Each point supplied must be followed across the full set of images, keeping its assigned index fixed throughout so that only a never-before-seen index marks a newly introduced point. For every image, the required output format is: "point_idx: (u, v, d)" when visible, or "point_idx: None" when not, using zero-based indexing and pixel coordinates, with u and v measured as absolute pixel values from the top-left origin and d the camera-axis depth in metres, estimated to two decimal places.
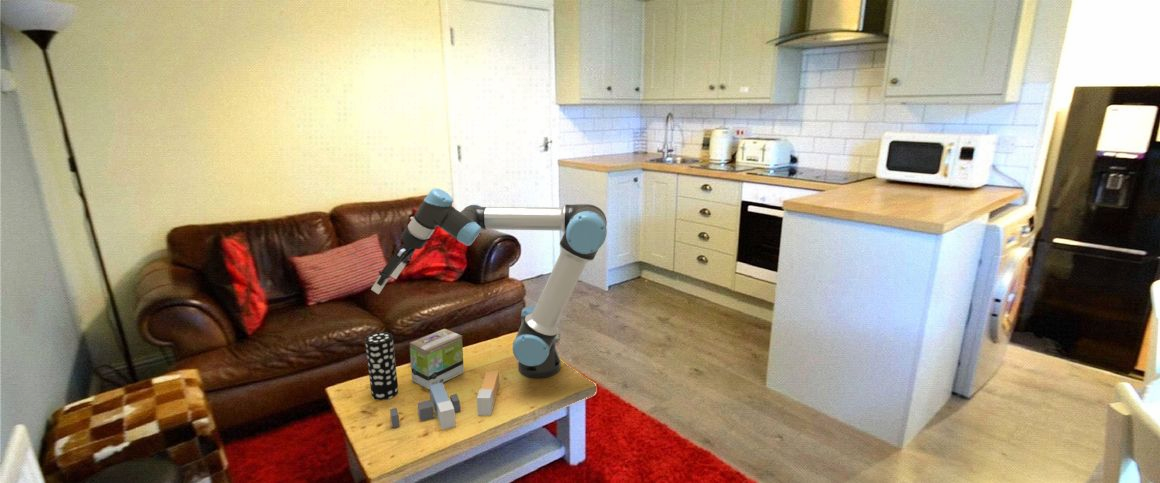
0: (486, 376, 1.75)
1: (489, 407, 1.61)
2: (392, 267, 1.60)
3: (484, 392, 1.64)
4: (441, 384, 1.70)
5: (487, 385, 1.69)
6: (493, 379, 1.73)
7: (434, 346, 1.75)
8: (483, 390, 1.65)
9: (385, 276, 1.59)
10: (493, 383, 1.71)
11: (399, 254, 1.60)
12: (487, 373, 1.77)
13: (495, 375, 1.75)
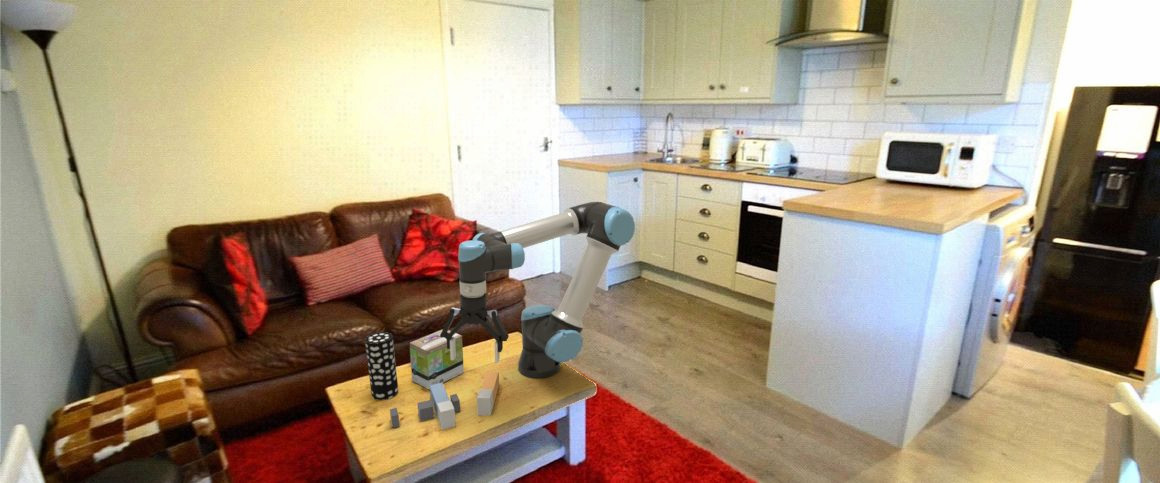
0: (486, 376, 1.75)
1: (489, 407, 1.61)
2: (503, 326, 1.57)
3: (484, 392, 1.64)
4: (441, 384, 1.70)
5: (487, 385, 1.69)
6: (493, 379, 1.73)
7: (434, 346, 1.75)
8: (483, 390, 1.65)
9: (508, 336, 1.58)
10: (493, 383, 1.71)
11: (496, 314, 1.56)
12: (487, 373, 1.77)
13: (495, 375, 1.75)
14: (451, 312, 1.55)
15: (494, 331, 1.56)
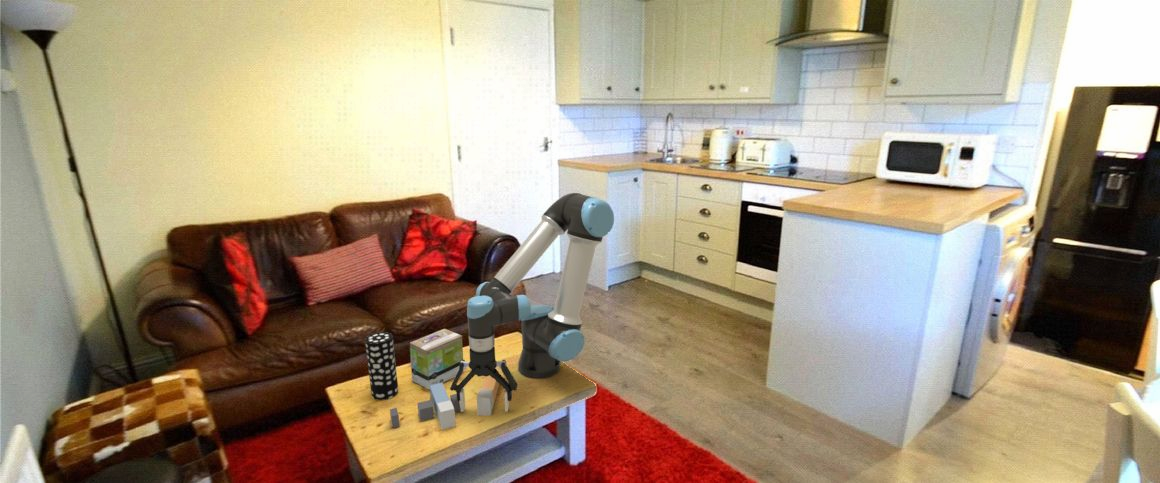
0: (486, 376, 1.75)
1: (489, 407, 1.61)
2: (512, 376, 1.62)
3: (484, 392, 1.64)
4: (441, 384, 1.70)
5: (487, 385, 1.69)
6: (493, 379, 1.73)
7: (434, 346, 1.75)
8: (483, 390, 1.65)
9: None
10: (493, 383, 1.71)
11: (505, 365, 1.60)
12: None
13: None
14: (461, 366, 1.59)
15: (503, 382, 1.61)
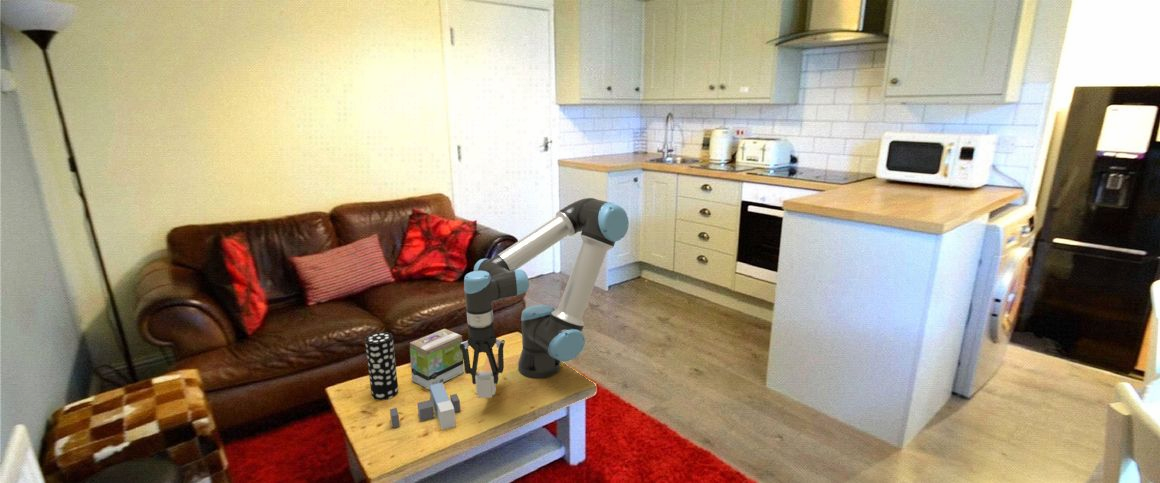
0: (487, 359, 1.73)
1: (490, 389, 1.60)
2: None
3: (484, 374, 1.62)
4: (441, 384, 1.70)
5: (488, 368, 1.68)
6: None
7: (434, 346, 1.75)
8: (483, 372, 1.63)
9: (503, 367, 1.62)
10: None
11: None
12: None
13: (496, 358, 1.74)
14: (461, 347, 1.57)
15: (494, 363, 1.60)
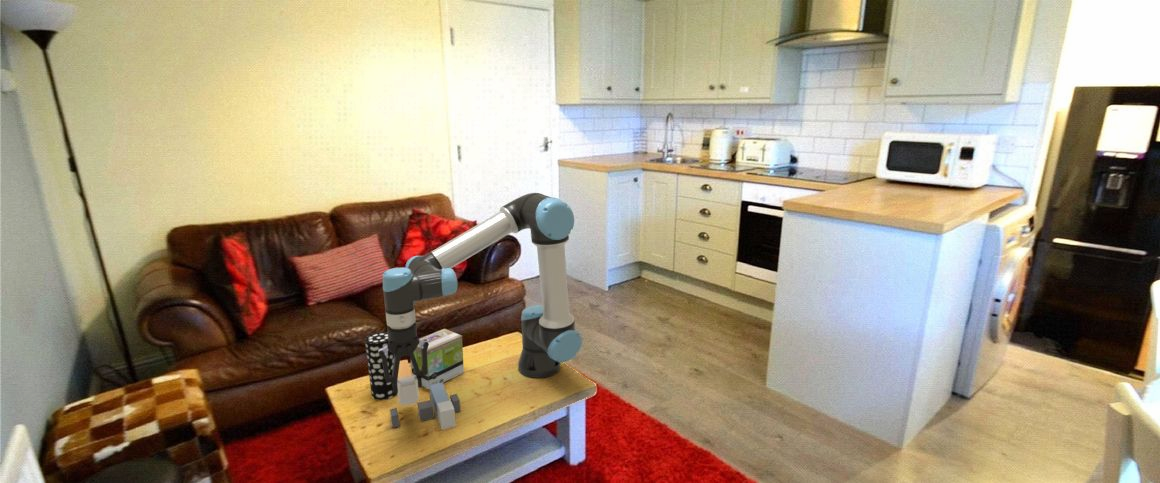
0: None
1: (415, 394, 1.49)
2: None
3: (406, 380, 1.50)
4: (441, 384, 1.70)
5: (404, 374, 1.55)
6: (406, 367, 1.59)
7: (434, 346, 1.75)
8: (403, 379, 1.51)
9: None
10: (409, 371, 1.57)
11: None
12: None
13: (406, 363, 1.61)
14: (381, 354, 1.43)
15: (417, 365, 1.49)
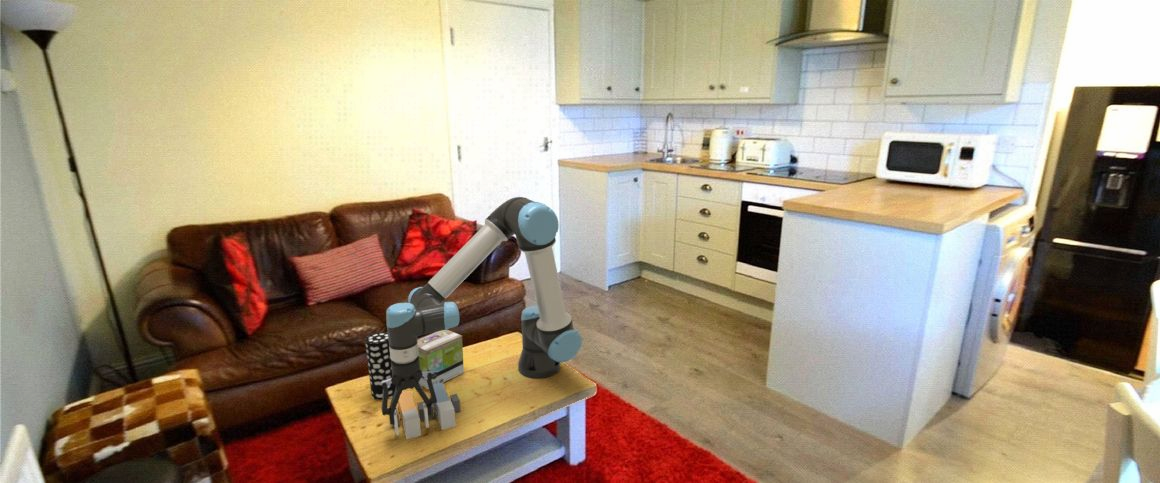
0: (400, 398, 1.62)
1: (419, 427, 1.52)
2: None
3: (409, 413, 1.53)
4: (441, 384, 1.70)
5: (407, 406, 1.58)
6: (409, 399, 1.62)
7: (434, 346, 1.75)
8: (407, 411, 1.54)
9: None
10: (412, 403, 1.60)
11: None
12: None
13: (409, 394, 1.64)
14: (384, 386, 1.46)
15: (425, 395, 1.52)
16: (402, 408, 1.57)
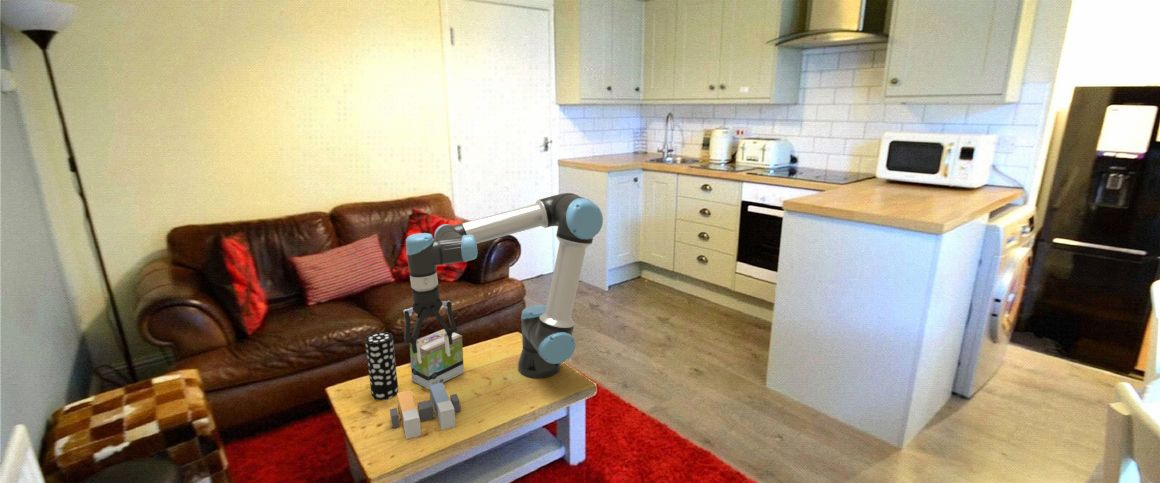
0: (400, 398, 1.62)
1: (419, 427, 1.52)
2: None
3: (409, 413, 1.53)
4: (441, 384, 1.70)
5: (407, 406, 1.58)
6: (409, 399, 1.62)
7: (434, 346, 1.75)
8: (407, 411, 1.54)
9: None
10: (412, 403, 1.60)
11: None
12: (399, 394, 1.64)
13: (409, 394, 1.64)
14: (406, 314, 1.51)
15: None
16: (402, 408, 1.57)
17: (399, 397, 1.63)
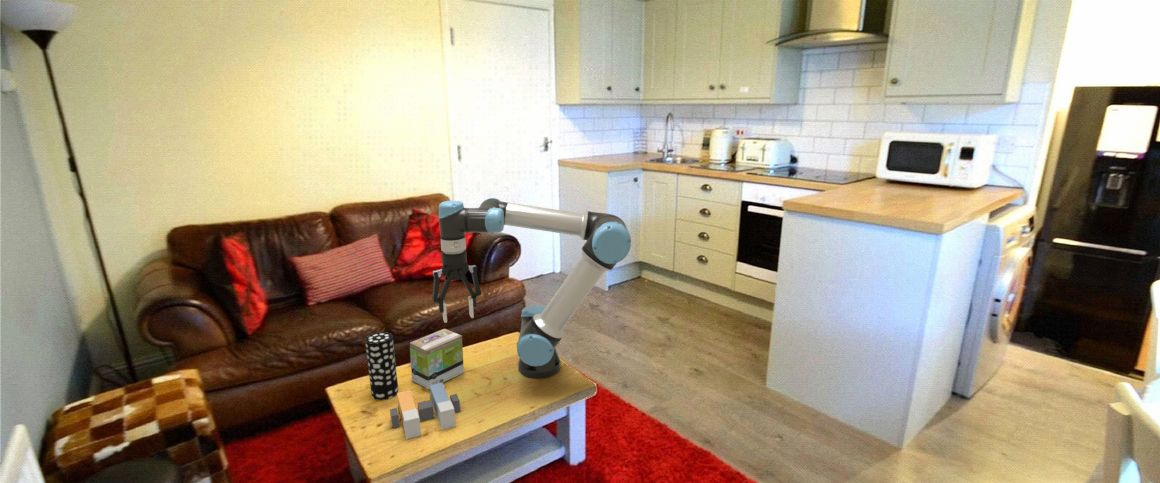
0: (400, 398, 1.62)
1: (419, 427, 1.52)
2: None
3: (409, 413, 1.53)
4: (441, 384, 1.70)
5: (407, 406, 1.58)
6: (409, 399, 1.62)
7: (434, 346, 1.75)
8: (407, 411, 1.54)
9: None
10: (412, 403, 1.60)
11: None
12: (399, 394, 1.64)
13: (409, 394, 1.64)
14: (436, 275, 1.62)
15: None
16: (402, 408, 1.57)
17: (399, 397, 1.63)
